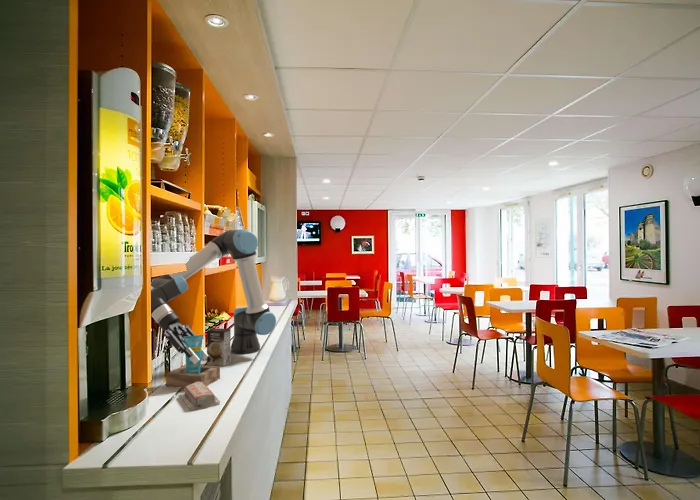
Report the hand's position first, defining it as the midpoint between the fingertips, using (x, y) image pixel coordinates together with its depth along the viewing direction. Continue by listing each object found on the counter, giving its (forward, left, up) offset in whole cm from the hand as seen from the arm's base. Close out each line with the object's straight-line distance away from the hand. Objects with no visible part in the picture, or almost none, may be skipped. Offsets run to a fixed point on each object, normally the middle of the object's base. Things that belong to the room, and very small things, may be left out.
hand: (201, 360), depth 166 cm
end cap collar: (0, -4, -9) cm, 10 cm away
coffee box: (-27, -9, -10) cm, 30 cm away
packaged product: (+16, +10, -10) cm, 22 cm away
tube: (0, -4, -10) cm, 10 cm away
